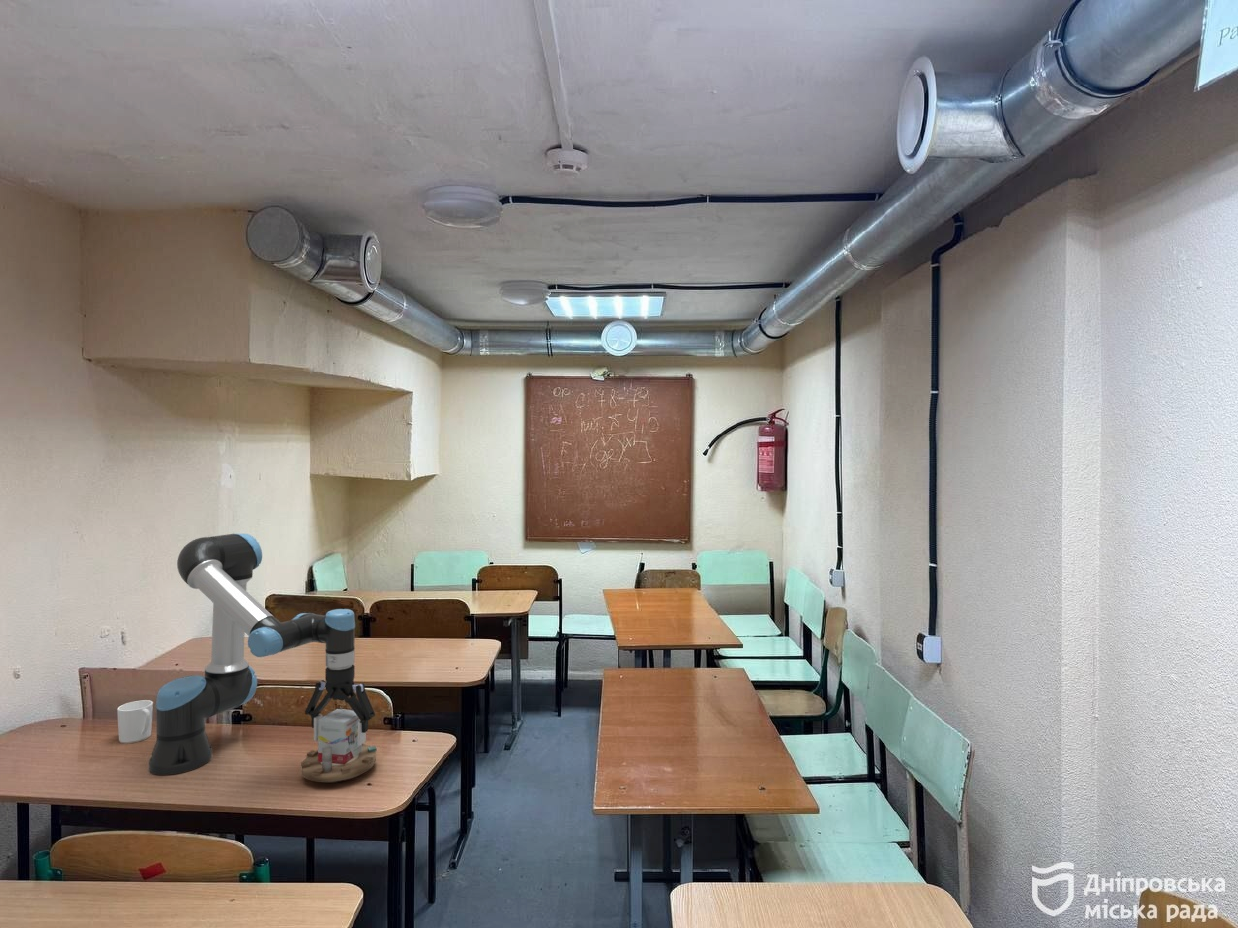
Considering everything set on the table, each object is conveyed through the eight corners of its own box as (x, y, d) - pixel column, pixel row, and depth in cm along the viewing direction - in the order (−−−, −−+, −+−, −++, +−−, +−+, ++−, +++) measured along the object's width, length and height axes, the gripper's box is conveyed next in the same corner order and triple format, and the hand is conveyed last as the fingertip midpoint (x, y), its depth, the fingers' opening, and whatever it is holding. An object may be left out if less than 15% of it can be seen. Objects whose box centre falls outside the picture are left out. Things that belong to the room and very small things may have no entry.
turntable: (296, 760, 183) (297, 732, 183) (368, 744, 194) (368, 717, 194) (306, 789, 167) (306, 758, 167) (383, 770, 178) (383, 741, 178)
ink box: (344, 764, 175) (344, 721, 175) (316, 761, 177) (317, 718, 177) (363, 750, 184) (363, 709, 184) (336, 748, 186) (336, 707, 186)
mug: (110, 741, 199) (110, 708, 199) (141, 730, 208) (141, 698, 208) (133, 747, 195) (133, 713, 195) (163, 735, 203) (163, 703, 203)
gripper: (291, 667, 179) (291, 742, 179) (373, 673, 174) (372, 751, 175) (309, 658, 186) (308, 731, 187) (388, 664, 182) (387, 739, 182)
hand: (339, 741), depth 181 cm, fingers open, 13 cm apart
